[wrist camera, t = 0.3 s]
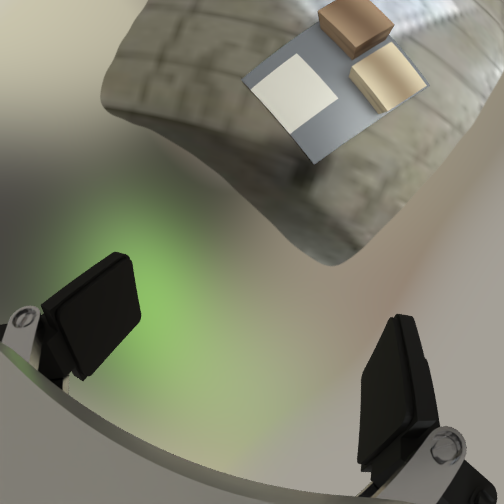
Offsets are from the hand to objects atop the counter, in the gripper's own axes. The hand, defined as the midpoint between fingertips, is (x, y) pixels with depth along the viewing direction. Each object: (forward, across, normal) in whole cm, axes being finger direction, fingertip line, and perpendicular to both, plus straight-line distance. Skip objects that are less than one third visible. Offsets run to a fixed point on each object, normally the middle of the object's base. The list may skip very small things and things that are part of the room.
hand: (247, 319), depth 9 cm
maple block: (+29, -7, -14) cm, 33 cm away
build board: (+30, -2, -14) cm, 33 cm away
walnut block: (+29, -4, -21) cm, 36 cm away
